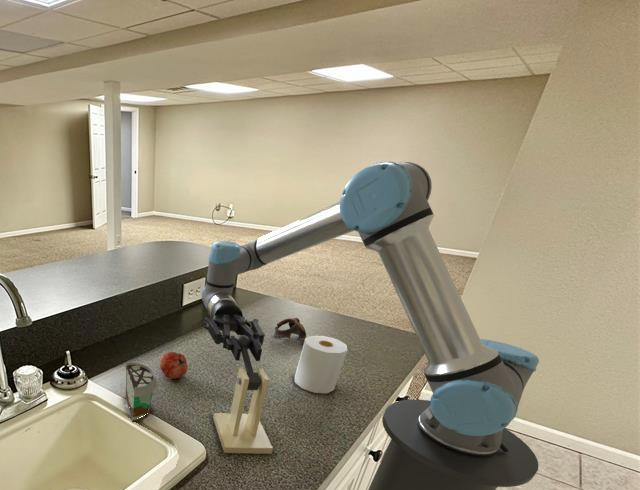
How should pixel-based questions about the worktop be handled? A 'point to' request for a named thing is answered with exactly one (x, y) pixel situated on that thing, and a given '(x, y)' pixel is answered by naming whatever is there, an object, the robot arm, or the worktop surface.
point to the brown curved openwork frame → (290, 329)
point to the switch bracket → (244, 419)
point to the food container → (139, 390)
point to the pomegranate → (173, 365)
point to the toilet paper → (320, 364)
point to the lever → (248, 363)
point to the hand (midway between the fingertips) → (248, 355)
